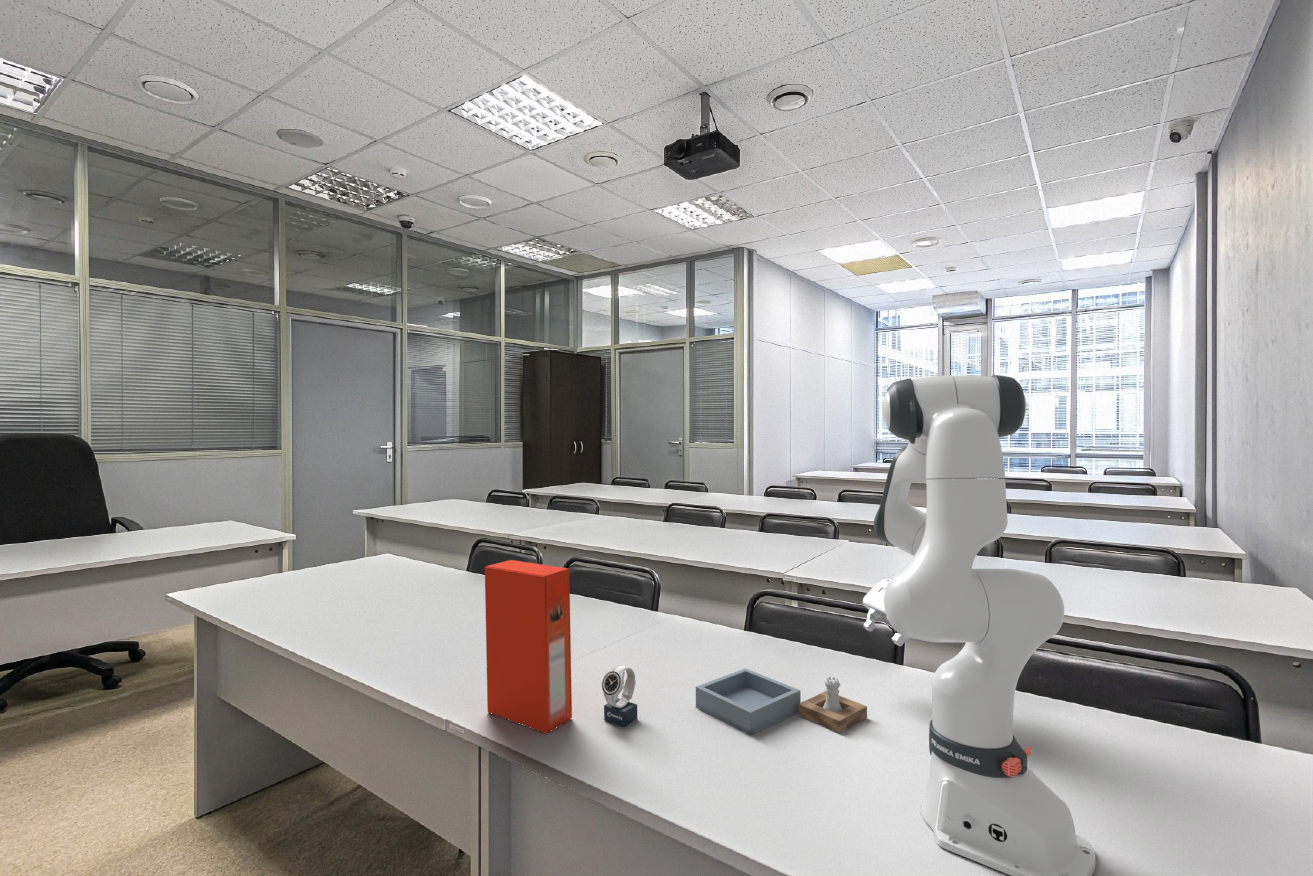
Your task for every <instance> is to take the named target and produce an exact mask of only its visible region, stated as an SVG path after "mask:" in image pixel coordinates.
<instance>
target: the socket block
mask: <svg viewBox="0 0 1313 876" xmlns="http://www.w3.org/2000/svg"><path fill="white" fill-rule="evenodd" d="M826 696H827V692H826V690H825V691H823V692H821V693H819V694H817V695H813V696H812V697H810V698H808V699H806V700H803V701H802V702H801V703H799V712H798V716H799V717H800V718H804V719H805V720H807V721H809V722H812V723H814V724H817V725H818V726H821V727H823V728H826V729H828V730H831V731H833V732H835V733H838V734H842V733H843V732H845V731H846V730H848V729H850V728H852V727H854V726H855V725H857V724H859V723H861V722H862V721H864V720H867V719H868V706H866V705H865V704H862V703H859V702H856V701H854V700H852V699H849V698H847V697H844V696H842V695H839V694H838V697H839V703H840V705H841V708H842V709H843V710H841V711H839V712H837V713H834V712H832V711H829V710H827V709H825V708H823V706H824V704H825V702H826Z"/></svg>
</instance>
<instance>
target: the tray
mask: <svg viewBox="0 0 1313 876" xmlns="http://www.w3.org/2000/svg"><path fill="white" fill-rule="evenodd" d="M801 694H802V693H801V690H800V689H798V688H795V687H794V686H790V685H788V684H786V683H783V682H781V681H778V680H775V679H773V678H771V677H769V676H766V675H763V674H761V673H758V672H756V671H753V670H751V669H748V668H742V669H740V670H737V671H735V672H731V673H728V674H727V675H724V676H722V677H718V678H716V679H714V680H710V681H707V682H705V683H702V684H700V685H697V686H695V708H697V709H698V710H701V711H702V712H705V713H706V714H708V715H710V716H712V717H714V718H716V719H718V720H720V721H722V722H724V723H726V724H728V725H730V726H732V727H734V728H736V729H737V730H740V731H742V732H743V733H745V734H747V735H749V736H752V735H754V734H756V733H758V732H761V731H762V730H764V729H767V728H768V727H771V726H772V725H775V724H777V723H779V722H781V721H783V720H785V719H788V718H790V717H791V716H793V715H796V714H797V713H798V714H799V703H801V700H802V699H801Z"/></svg>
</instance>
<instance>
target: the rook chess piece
mask: <svg viewBox="0 0 1313 876" xmlns="http://www.w3.org/2000/svg"><path fill="white" fill-rule="evenodd" d="M839 681H840V680H839V679H838V677H834V676H832V678H831V676H828V677H826V679H825V681H824V685H825V687H826V689H825V691H826V692H827V696H826V702H825V704H824V706H823V708H825V709H827V710H829V711H832V712H834V713H837V712H839V711H841V710H843V709H842V708H841V705H840V703H839V697H838V695H839V694H840V690H839V688H840V686H841V683H840V682H839Z"/></svg>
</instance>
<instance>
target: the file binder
mask: <svg viewBox="0 0 1313 876" xmlns="http://www.w3.org/2000/svg"><path fill="white" fill-rule="evenodd" d="M570 578H571V577H570V569H569V568H568V567H567V568H566V567H561V566H553V565H549V564H548V565H547V564H541V563H534V562H528V561H521V560H514V559H509V560H505V561H501V562H497V563H493V564H490V565H486V566H485V567H484V594H485V595H484V596H485V597H484V598H485V601H484V602H485V604H484V605H485V606H484V607H485V641H486V642H485V643H486V644H485V647H486V651H485V652H486V653H485V654H486V656H485V657H486V693H487V695H486V697H487V699H486V700H487V701H486V702H487V704H486V705H487V713H488V714H490V713H492V714H495V715H497V716H496V717H498V716H500V717H499V718H501V717H503V718H502V719H504V718H506V719H509V720H511V721H510V722H512V721H514V722H513V723H515V722H516V723H515V724H518V723H520V724H523V725H525V726H524V727H526V726H527V727H526V728H529V727H531V728H530V729H532V728H534V729H535V731H537V730H539V731H538V732H540V731H542V732H541V733H543V732H545V733H544V734H546V733H548V734H549V733H551V732H552V731H551V730H553V731H554V730H556V729H557V728H559V727H560V725H561V724H562V725H564V724H565V723H567V722H569V721H570V720H571V719H572V717H573V711H572V710H573V708H572V707H573V705H572V703H573V702H572V701H573V699H572V652H571V651H572V647H571V646H572V644H571V641H572V638H571V637H572V636H571V634H572V633H571V593H570V592H571V591H570V590H571V589H570V588H571V586H570V585H571V584H570V581H571V580H570ZM492 714H491V715H492ZM495 715H494V716H495ZM506 719H505V720H506ZM509 720H508V721H509ZM568 720H569V721H568ZM563 723H564V724H563ZM520 724H519V725H520ZM523 725H522V726H523ZM562 725H561V726H562ZM556 727H557V728H556ZM555 728H556V729H555ZM534 729H533V730H534ZM550 731H551V732H550Z"/></svg>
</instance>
